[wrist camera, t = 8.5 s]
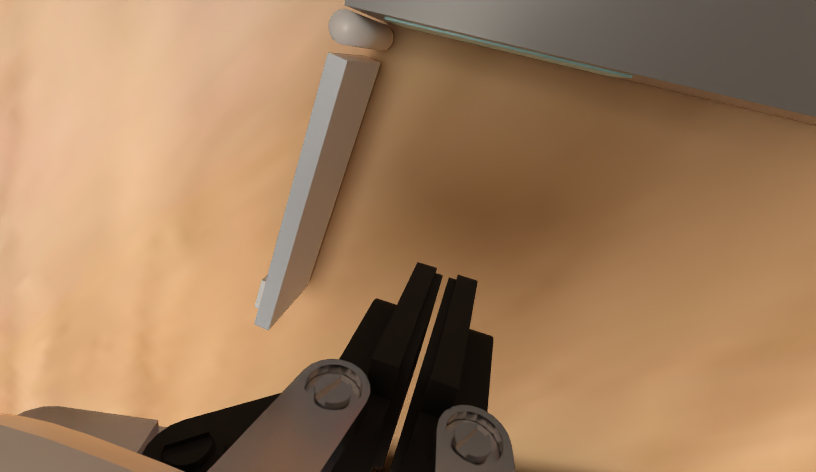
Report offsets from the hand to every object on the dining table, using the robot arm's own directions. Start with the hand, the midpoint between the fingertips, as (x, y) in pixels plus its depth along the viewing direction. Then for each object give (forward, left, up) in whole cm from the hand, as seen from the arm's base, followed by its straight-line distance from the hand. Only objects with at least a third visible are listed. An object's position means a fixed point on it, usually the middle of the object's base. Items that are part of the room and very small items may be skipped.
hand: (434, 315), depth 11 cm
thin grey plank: (+7, 0, -9) cm, 11 cm away
